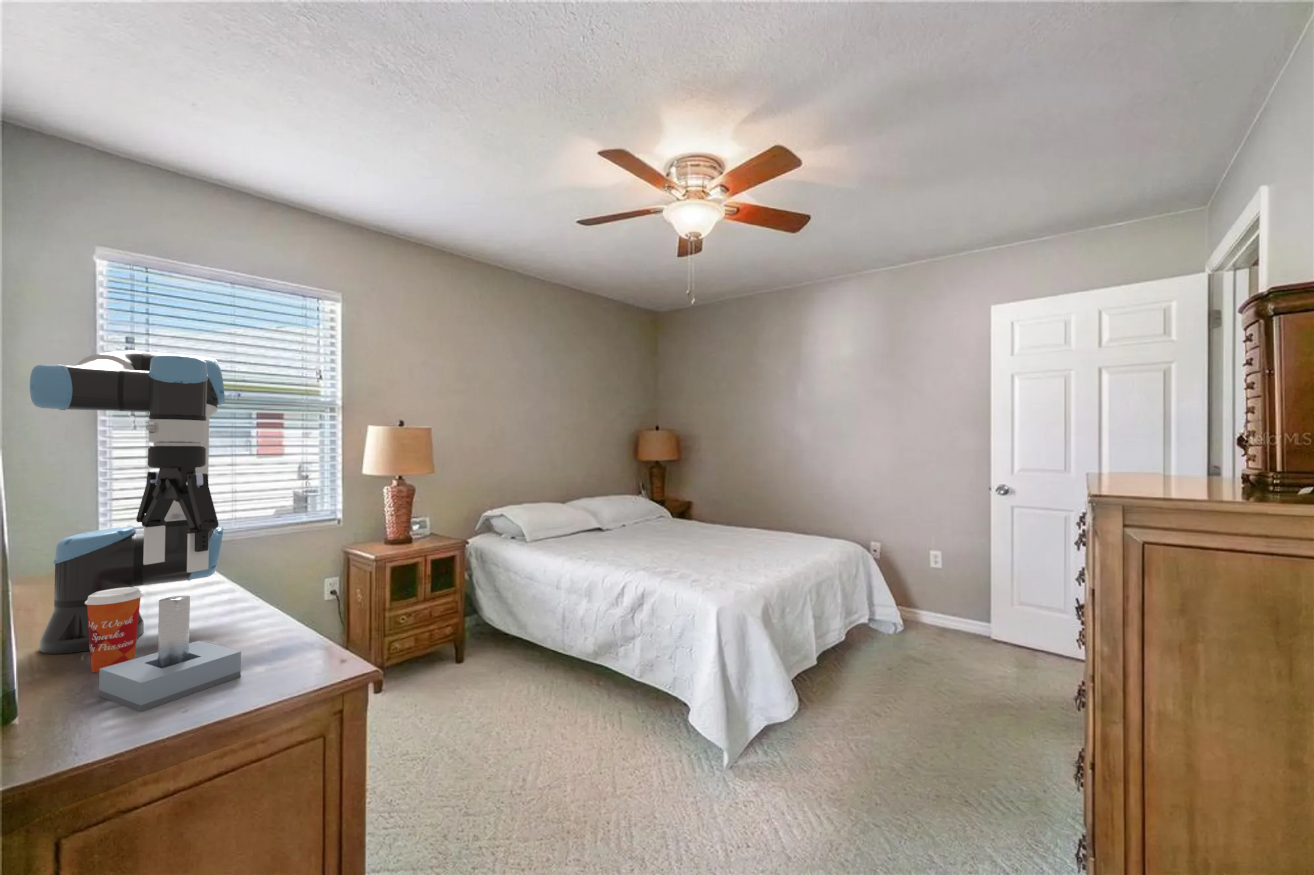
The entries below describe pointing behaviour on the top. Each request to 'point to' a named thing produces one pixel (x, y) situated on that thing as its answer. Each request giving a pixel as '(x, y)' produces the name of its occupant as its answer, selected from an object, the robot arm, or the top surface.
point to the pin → (173, 630)
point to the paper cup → (113, 626)
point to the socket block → (168, 676)
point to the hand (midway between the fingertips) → (175, 566)
